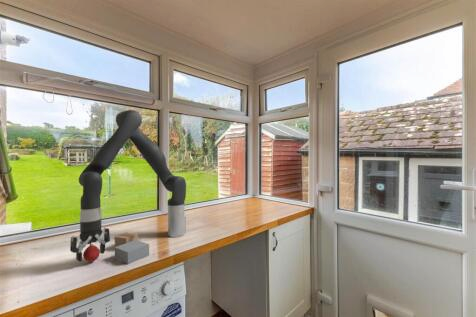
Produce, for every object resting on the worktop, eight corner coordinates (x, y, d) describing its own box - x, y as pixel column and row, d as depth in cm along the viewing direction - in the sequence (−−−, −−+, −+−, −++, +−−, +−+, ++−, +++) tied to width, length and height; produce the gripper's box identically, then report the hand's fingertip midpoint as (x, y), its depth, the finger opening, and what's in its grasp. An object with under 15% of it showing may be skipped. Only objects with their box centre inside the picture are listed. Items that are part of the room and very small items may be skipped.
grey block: (135, 250, 106) (135, 239, 106) (149, 255, 100) (149, 244, 100) (114, 258, 97) (114, 247, 97) (128, 264, 92) (127, 252, 92)
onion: (102, 259, 97) (102, 240, 97) (94, 265, 91) (94, 246, 91) (89, 259, 97) (88, 241, 97) (80, 265, 91) (79, 246, 91)
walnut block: (126, 243, 114) (126, 232, 114) (137, 245, 112) (137, 233, 112) (114, 249, 108) (114, 236, 108) (126, 250, 106) (126, 238, 106)
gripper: (103, 213, 102) (104, 249, 102) (67, 221, 90) (67, 261, 90) (112, 216, 98) (113, 252, 98) (75, 224, 86) (75, 266, 86)
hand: (91, 256), depth 94 cm, fingers open, 8 cm apart
